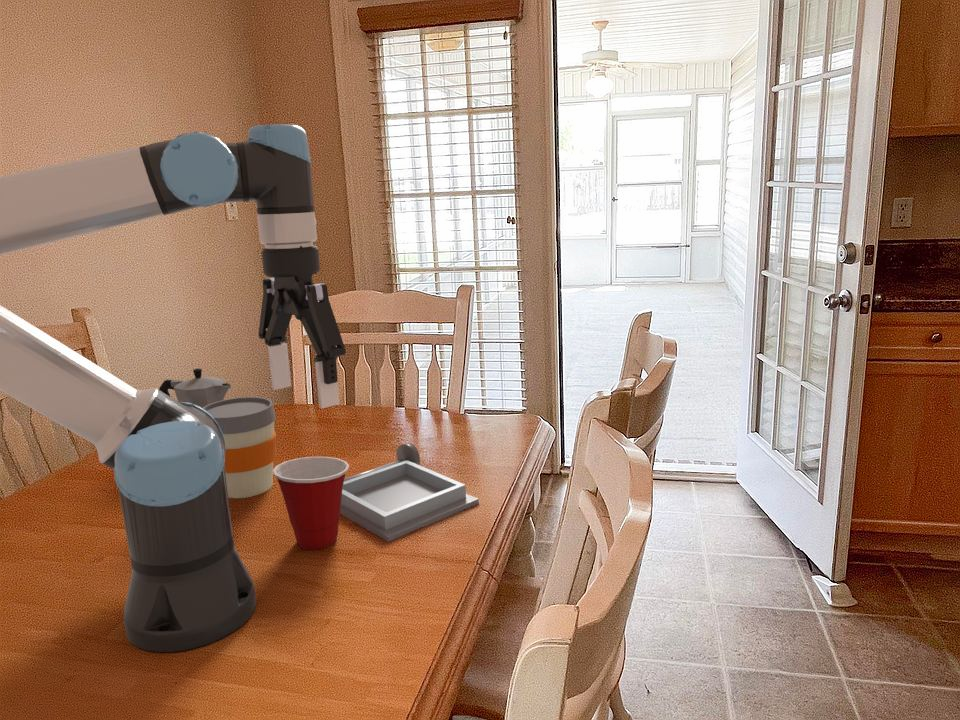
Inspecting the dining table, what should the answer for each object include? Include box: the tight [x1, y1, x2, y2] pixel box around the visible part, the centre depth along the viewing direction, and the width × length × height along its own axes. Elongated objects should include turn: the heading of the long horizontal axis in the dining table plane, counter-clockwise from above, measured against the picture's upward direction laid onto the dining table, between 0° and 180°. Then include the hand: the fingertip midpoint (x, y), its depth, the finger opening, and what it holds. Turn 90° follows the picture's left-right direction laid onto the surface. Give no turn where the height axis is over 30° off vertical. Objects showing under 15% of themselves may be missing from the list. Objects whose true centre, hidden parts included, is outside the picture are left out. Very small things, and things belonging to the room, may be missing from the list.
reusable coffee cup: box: [203, 396, 277, 499], centre depth 125 cm, size 13×12×15 cm
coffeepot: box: [159, 368, 232, 408], centre depth 142 cm, size 15×9×18 cm, turn 79°
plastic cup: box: [273, 456, 350, 551], centre depth 106 cm, size 11×11×12 cm
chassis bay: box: [340, 442, 480, 543], centre depth 119 cm, size 21×23×5 cm
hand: (304, 396), depth 102 cm, fingers open, 13 cm apart
